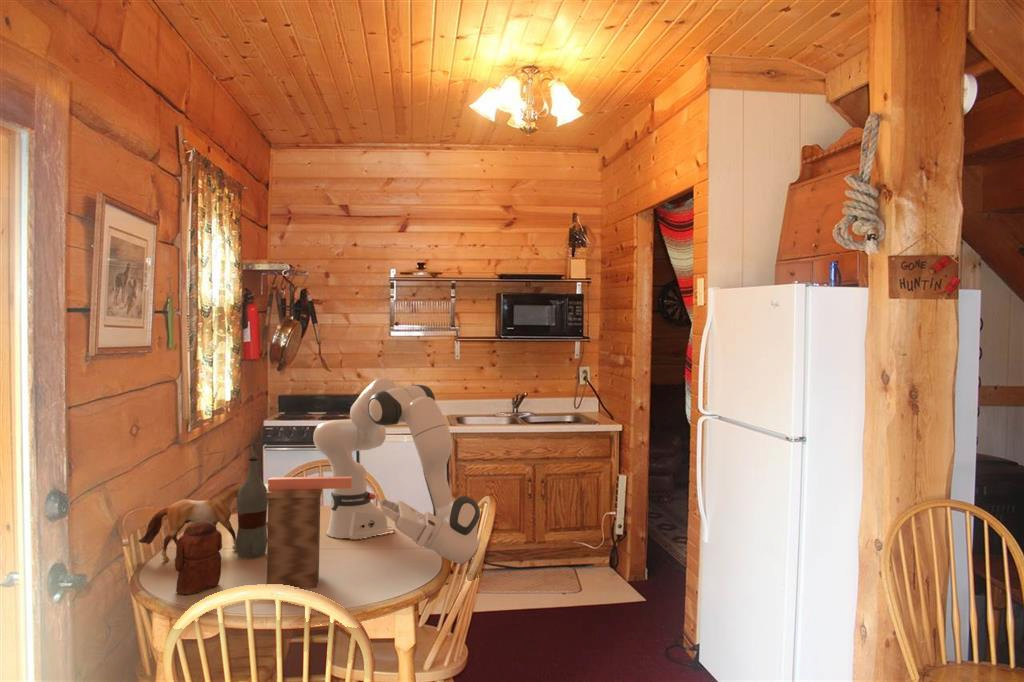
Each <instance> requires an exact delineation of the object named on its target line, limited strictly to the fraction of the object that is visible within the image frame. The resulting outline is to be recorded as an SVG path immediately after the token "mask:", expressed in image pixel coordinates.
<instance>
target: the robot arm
mask: <svg viewBox="0 0 1024 682" xmlns="http://www.w3.org/2000/svg"><path fill="white" fill-rule="evenodd" d="M349 416H350V418H349V419H334V420H333V419H331V420H329V421H324V422H322V423H318V425H317V426H316V427H315V429H314V431H313V436H312V439H313V444H314V446H315V448H316V449H317V451H318V452H320V453H322V454H323V455H324V456H325V457H326V459H327V460H328V462H329V465H330V468H331V477H345V476H352V484H351V488H345V489H332V491H331V492H330V493H331V495H330V509H331V510H330V512H331V513H330V517H329V518H330V519H329V523H328V524H329V525H328V528H327V531H326V535H327V536H329V537H330V538H334V537H335V539H343V538H350V539H349V540H352V539H360V540H362V539H361V538H364V537H370V536H374V535H378V534H382V533H385V532H390V531H393V529H394V530H395V529H397V530H398V531H399V532H400V533H402V534H403V535H405V536H407V537H408V538H410V539H411V540H412V541H413V542H415V544H416V545H418V546H419V547H421V548H422V547H424V548H426V549H428V550H432V551H434V552H435V553H436V554H437V555H439V556H440V557H442V558H444V559H447V560H449V561H450V562H453V563H456V564H459V565H464V564H466V563H469V561H471V560H472V558H474V556H475V555H476V553H477V552H478V549H479V548H480V542H479V540H478V539H479V538H478V527H479V526H478V525H479V520H480V517H481V509H480V506H479V504H478V503H477V501H475V500H474V498H472V497H470V496H466V495H464V496H459V497H457V498H455V499H453V498H454V497H453V496H452V492H451V489H450V486H449V481H448V479H447V475H446V474H447V472H446V471H447V464H448V461H449V458H450V456H451V454H452V451H453V438H452V435H451V431H450V427H449V426H448V424H447V421H446V419H445V417H444V414H443V412H442V410H441V409H440V407H439V406H438V404H437V402H436V398H435V394H434V393H433V391H432V389H431V388H430V387H429V386H427V385H423V384H412V385H405V386H398V385H397V383H396V382H394V381H393V380H392V379H390V378H388V377H379V378H376V379H375V380H374V381H372V382H371V383H370V384H368V386H366V388H364V389H363V390H362V392H361V393H360V394H359V396H358V397H357V398H356V400H355V402H354V403H353V404H352V405H351V407H350V412H349ZM404 423H405V425H407V426H408V428H409V432H410V434H411V438H412V440H413V442H414V445H415V448H416V451H417V454H418V458H419V460H420V465H421V469H422V472H423V477H424V479H425V483H426V487H427V490H428V494H429V497H430V501H431V505H432V511H433V513H431V512H429V511H425V513H424V514H423V513H422V512H419V510H416V509H415V508H414V507H412V506H411V505H409V504H407V503H405V502H404V501H402V500H398V501H397V502H395V501H390V500H388V499H387V498H383V499H382V500H381V502H380V505H381V506H383V507H382V509H381V508H380V507H378V506H377V505H375V503H373V502H371V500H372V501H373V500H375V499H376V497H377V495H376V494H375V493H373V492H369V491H367V490H366V489H367V486H366V485H367V483H366V482H367V472H366V468H365V467H364V466H363V465H362V464H361V463H360V462H358V461H355V460H354V458H353V452H362V451H370V450H372V449H376V448H380V447H381V446H382V445H383V444H384V442H385V440H386V436H387V431H386V427H385V426H387V427H388V426H394V425H396V426H397V424H404ZM388 518H389V519H390V520H391V521H392V522H394V525H395V526H394V527H395V528H394V527H393V526H392V525H391V524H389V523H388ZM388 528H393V529H388ZM370 538H371V537H370Z"/></svg>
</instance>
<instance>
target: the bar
mask: <svg viewBox="0 0 1024 682" xmlns="http://www.w3.org/2000/svg"><path fill="white" fill-rule="evenodd" d="M267 484H268V490H286V489H323V490H325V489H327V490H333V489H345V488H351V484H352V476H345V477H332V476H291V477H290V476H288V477H286V476H284V477H277V476H276V477H269V478H268V479H267Z"/></svg>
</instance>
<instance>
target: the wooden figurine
mask: <svg viewBox="0 0 1024 682" xmlns="http://www.w3.org/2000/svg"><path fill="white" fill-rule="evenodd" d="M222 538H223V535H222V532H221V531H220V530H218V529H217V525H216V526H215V525H214V524H213V523H211V522H209V521H204V520H200V521H196V522H191V523H190V524H189V525H187V527H185V529H184V531H183V533H182V536H180V537H179V538H177V540H178V541H177V546H176V549H175V559H174V567H175V571H176V572H178V574H177V579H176V587H175V588H176V589H175V593H176V592H177V593H176V594H178V593H179V595H183V594H187V595H191V594H192V593H193V594H196V592H197V593H199V591H200V592H202V591H205V590H207V589H210V588H213V587H217V586H218V585H219V583H220V579H221V573H222V556H221V552H220V551H221V550H222V548H223V539H222ZM193 594H192V595H193Z"/></svg>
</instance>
